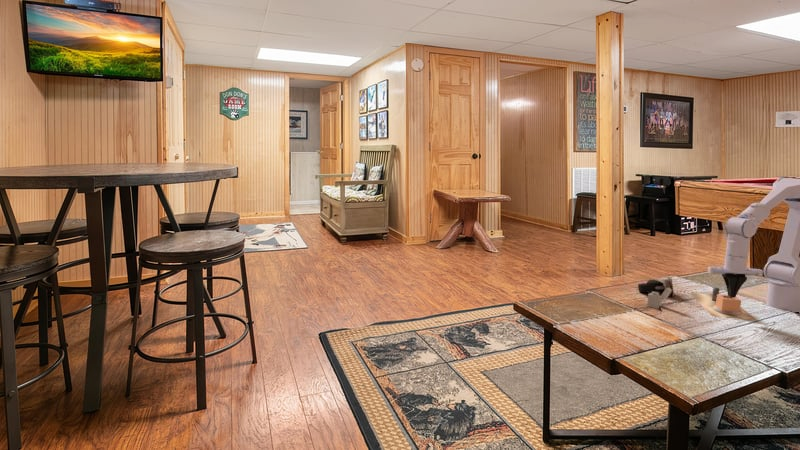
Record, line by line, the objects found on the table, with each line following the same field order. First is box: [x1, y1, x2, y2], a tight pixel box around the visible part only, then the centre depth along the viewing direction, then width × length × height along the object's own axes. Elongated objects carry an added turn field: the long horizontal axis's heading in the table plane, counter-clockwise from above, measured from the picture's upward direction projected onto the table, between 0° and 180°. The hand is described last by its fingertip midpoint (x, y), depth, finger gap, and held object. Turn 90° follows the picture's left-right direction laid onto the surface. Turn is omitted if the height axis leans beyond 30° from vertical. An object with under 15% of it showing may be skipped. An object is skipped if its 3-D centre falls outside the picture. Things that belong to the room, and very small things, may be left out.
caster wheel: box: [637, 277, 675, 298], centre depth 167 cm, size 7×12×10 cm
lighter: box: [647, 288, 672, 310], centre depth 152 cm, size 7×2×8 cm, turn 29°
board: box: [689, 286, 758, 321], centre depth 152 cm, size 12×24×6 cm, turn 163°
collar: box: [716, 293, 742, 312], centre depth 146 cm, size 5×5×4 cm
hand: (731, 296), depth 144 cm, fingers closed
